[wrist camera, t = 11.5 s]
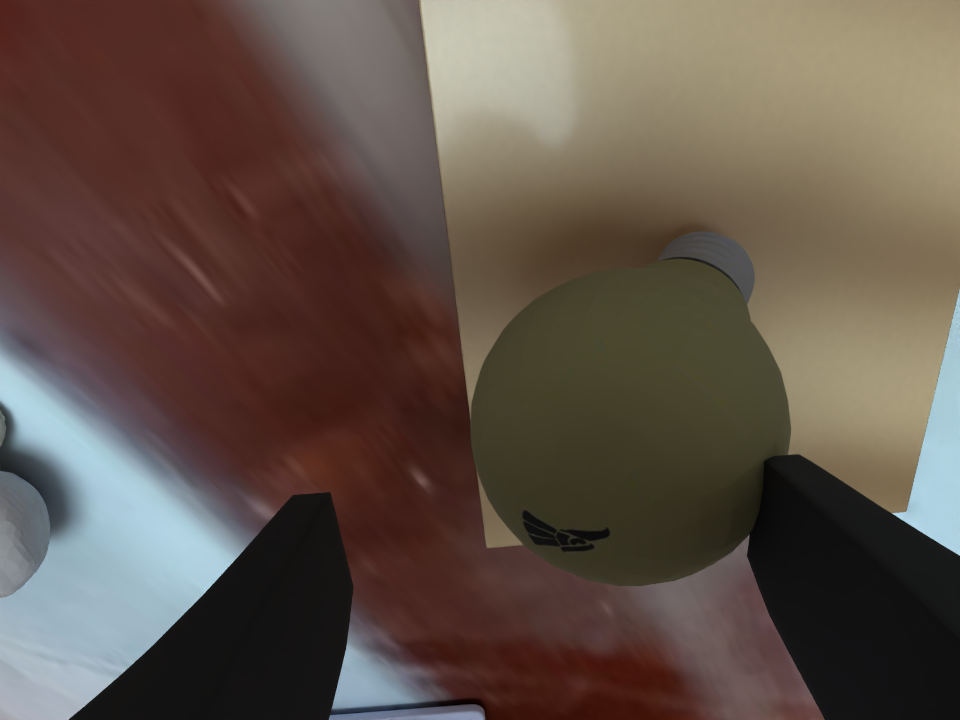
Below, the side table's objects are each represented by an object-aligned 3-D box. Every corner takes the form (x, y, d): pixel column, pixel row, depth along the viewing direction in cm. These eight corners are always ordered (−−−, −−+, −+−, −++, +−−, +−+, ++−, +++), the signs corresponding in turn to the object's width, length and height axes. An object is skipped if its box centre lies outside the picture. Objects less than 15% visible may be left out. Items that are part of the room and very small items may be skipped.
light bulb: (682, 385, 19) (546, 671, 12) (569, 235, 19) (353, 446, 11) (878, 303, 16) (846, 650, 8) (746, 110, 15) (585, 310, 8)
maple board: (881, 484, 23) (906, 512, 22) (485, 519, 23) (486, 549, 22) (1027, -203, 15) (1084, -228, 13) (407, -129, 15) (400, -146, 14)
